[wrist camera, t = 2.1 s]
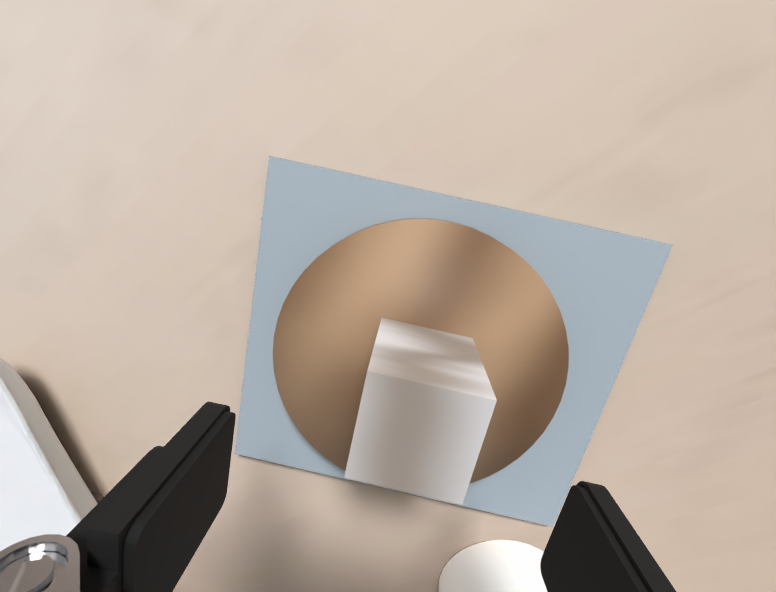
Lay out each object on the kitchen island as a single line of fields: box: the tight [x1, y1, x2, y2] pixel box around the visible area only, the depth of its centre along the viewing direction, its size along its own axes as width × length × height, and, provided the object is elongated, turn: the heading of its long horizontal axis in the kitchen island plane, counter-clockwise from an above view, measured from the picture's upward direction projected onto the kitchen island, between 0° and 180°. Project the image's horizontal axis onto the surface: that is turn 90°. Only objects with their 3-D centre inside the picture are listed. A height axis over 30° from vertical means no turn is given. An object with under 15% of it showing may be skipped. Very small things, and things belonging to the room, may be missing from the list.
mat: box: [235, 156, 672, 527], centre depth 18 cm, size 17×15×1 cm
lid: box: [273, 218, 569, 505], centre depth 15 cm, size 13×13×6 cm
